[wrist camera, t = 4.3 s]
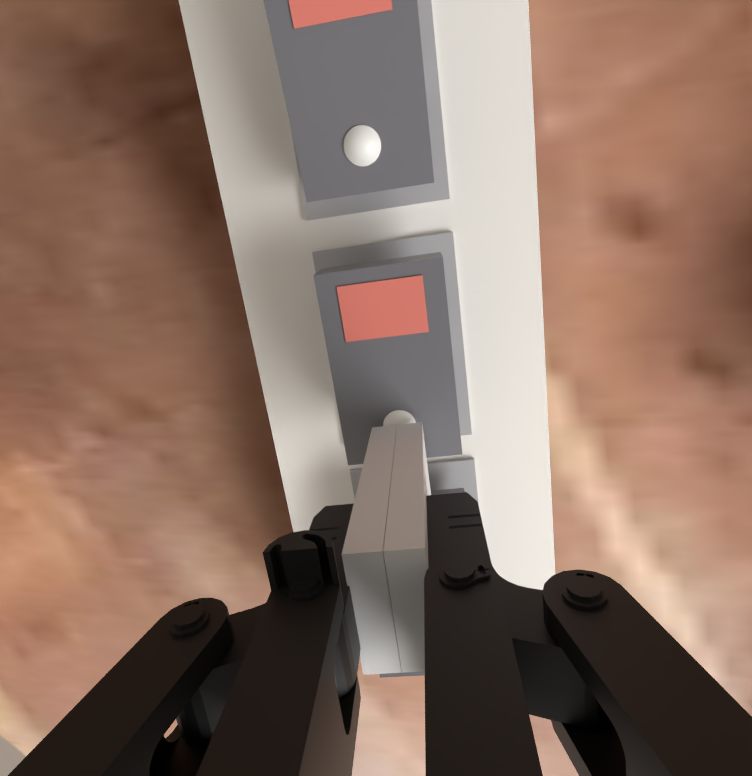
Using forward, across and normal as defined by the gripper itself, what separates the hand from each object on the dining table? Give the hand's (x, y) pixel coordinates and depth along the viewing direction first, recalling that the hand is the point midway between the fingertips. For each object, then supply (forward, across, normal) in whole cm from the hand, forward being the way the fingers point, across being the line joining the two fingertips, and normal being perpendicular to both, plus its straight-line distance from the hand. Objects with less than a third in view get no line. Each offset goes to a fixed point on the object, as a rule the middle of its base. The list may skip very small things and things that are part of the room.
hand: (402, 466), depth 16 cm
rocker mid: (+1, 0, +3) cm, 3 cm away
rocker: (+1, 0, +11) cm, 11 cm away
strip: (+7, 0, +7) cm, 10 cm away
